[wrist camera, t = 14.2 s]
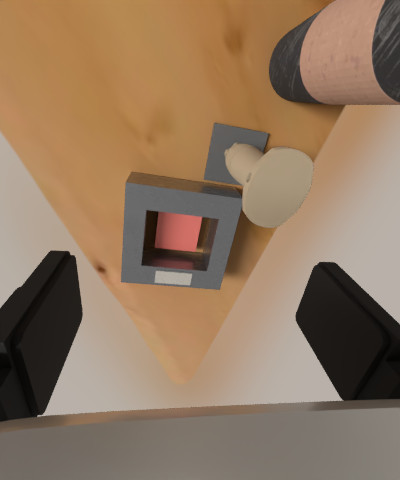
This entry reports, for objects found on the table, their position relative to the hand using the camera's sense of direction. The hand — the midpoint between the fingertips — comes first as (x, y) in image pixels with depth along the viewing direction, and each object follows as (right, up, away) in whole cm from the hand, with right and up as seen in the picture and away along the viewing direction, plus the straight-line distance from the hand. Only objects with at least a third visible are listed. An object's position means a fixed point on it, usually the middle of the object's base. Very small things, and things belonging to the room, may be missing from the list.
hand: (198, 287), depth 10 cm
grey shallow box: (-3, +4, +28) cm, 28 cm away
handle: (+5, +13, +23) cm, 27 cm away
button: (-3, +4, +27) cm, 28 cm away
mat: (+5, +13, +24) cm, 27 cm away
